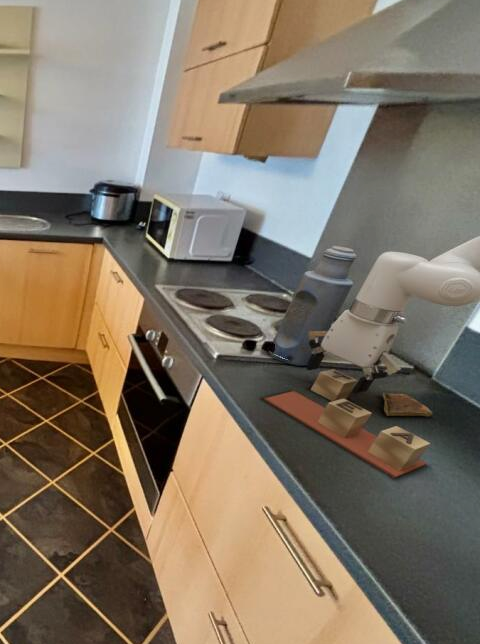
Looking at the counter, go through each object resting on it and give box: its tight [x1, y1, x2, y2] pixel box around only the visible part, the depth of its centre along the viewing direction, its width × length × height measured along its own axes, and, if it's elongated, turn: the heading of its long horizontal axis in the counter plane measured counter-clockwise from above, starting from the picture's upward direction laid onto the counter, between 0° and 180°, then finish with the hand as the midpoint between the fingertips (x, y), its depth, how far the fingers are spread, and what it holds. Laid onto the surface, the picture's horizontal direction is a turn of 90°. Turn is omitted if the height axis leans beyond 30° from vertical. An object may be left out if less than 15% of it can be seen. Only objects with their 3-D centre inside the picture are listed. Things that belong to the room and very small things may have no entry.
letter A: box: [368, 425, 431, 471], centre depth 75 cm, size 5×5×5 cm
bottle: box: [268, 245, 358, 367], centre depth 104 cm, size 10×10×30 cm
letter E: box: [318, 399, 373, 438], centre depth 82 cm, size 5×5×5 cm
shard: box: [382, 392, 433, 418], centre depth 92 cm, size 11×8×2 cm
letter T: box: [310, 368, 358, 402], centre depth 95 cm, size 5×5×5 cm
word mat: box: [263, 390, 427, 479], centre depth 84 cm, size 24×10×1 cm, turn 22°
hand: (333, 380), depth 94 cm, fingers open, 9 cm apart
